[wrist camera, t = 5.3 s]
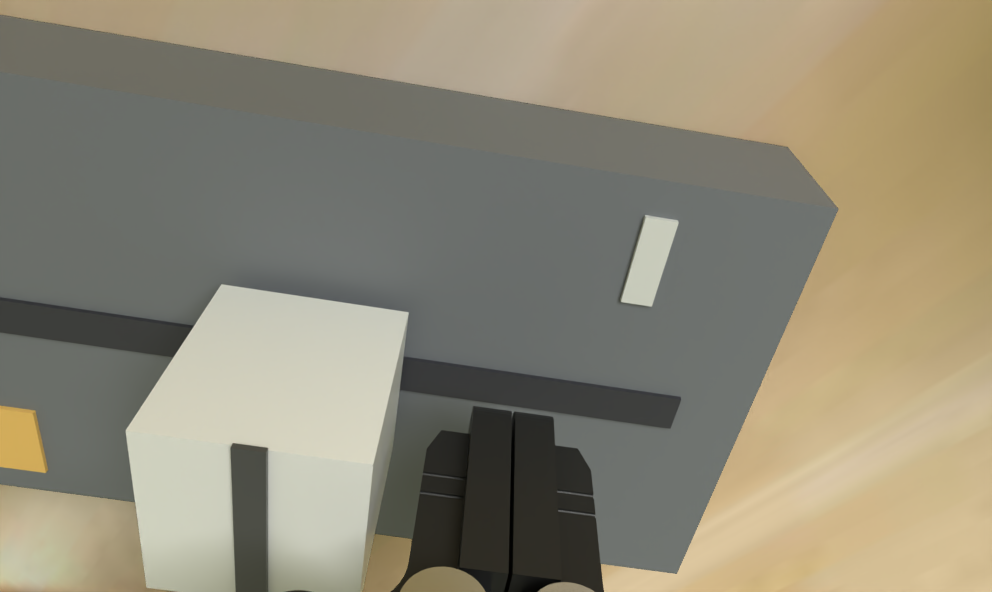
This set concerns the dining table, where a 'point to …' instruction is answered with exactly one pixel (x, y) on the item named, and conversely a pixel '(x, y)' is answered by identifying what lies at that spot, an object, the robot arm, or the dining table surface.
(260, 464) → the fader knob
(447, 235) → the fader slider base
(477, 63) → the dining table surface
